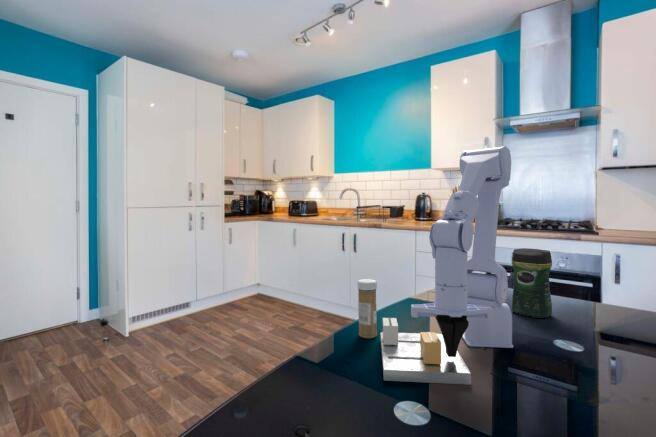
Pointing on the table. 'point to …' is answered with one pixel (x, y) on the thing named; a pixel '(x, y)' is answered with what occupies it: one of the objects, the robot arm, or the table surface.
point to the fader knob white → (390, 331)
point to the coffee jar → (531, 282)
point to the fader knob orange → (430, 348)
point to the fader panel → (421, 363)
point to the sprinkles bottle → (367, 308)
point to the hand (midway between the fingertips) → (450, 354)
